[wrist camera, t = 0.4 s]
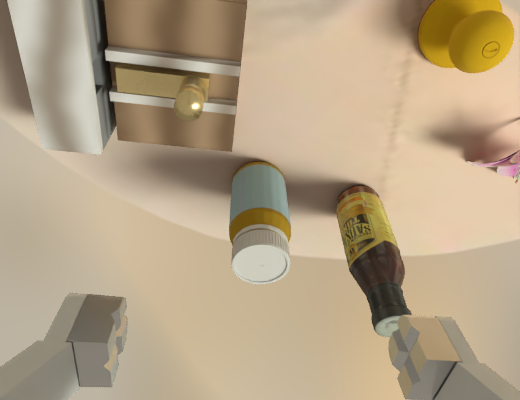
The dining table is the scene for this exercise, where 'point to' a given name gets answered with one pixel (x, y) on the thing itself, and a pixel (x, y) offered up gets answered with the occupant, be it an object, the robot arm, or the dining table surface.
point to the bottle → (259, 224)
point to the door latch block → (134, 52)
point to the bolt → (167, 86)
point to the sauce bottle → (373, 256)
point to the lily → (505, 165)
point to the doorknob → (465, 34)
